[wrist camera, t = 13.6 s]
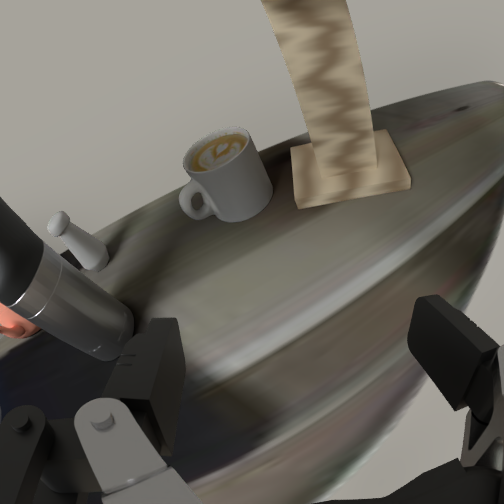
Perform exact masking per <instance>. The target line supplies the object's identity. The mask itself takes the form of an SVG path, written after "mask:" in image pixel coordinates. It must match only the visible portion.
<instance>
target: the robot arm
mask: <svg viewBox="0 0 504 504" xmlns="http://www.w3.org/2000/svg"><path fill="white" fill-rule="evenodd" d="M0 303H2V304H3V305H5V306H6V307H8V308H9V309H11V310H12V311H14V312H15V313H17V314H18V315H20V316H21V317H23V318H25V319H26V320H28V321H30V322H31V323H33V324H35V325H36V326H38V327H40V328H41V329H43V330H45V331H47V332H48V333H50V334H52V335H54V336H55V337H57V338H59V339H61V340H63V341H64V342H66V343H68V344H70V345H72V346H74V347H76V348H78V349H80V350H81V351H83V352H85V353H87V354H90V355H92V356H94V357H96V358H98V359H100V360H102V361H111V360H114V359H116V358H117V357H119V356H120V355H121V356H120V357H119V359H118V361H117V365H116V366H115V368H114V370H113V372H112V374H111V376H110V379H109V381H108V383H107V385H106V387H105V390H104V392H103V394H102V396H101V398H99V399H95V400H92V401H90V402H88V403H86V404H85V405H83V406H82V407H81V408H80V409H79V410H78V412H77V414H76V416H75V418H67V419H56V420H47V418H46V417H45V415H44V414H43V412H42V411H41V410H40V409H39V408H37V407H35V406H31V405H24V406H19V407H17V408H15V409H13V410H11V411H10V412H9V413H8V414H7V415H6V416H5V417H4V419H3V421H2V422H1V424H0V504H86V502H87V498H88V493H89V492H98V491H103V494H101V498H102V501H103V503H104V504H203V503H202V501H201V500H200V499H199V498H198V497H197V496H196V495H195V494H194V492H193V491H192V490H191V489H190V488H189V487H188V485H187V484H186V483H185V482H184V481H183V479H182V478H181V477H180V476H179V475H178V473H177V472H176V471H175V470H174V469H173V468H172V467H171V466H170V465H169V466H167V464H166V463H165V462H164V461H163V459H162V458H161V457H160V456H172V453H173V447H174V440H175V434H176V427H177V421H178V415H179V409H180V403H181V397H182V391H183V385H184V380H185V371H186V367H185V357H184V352H183V347H182V342H181V337H180V331H179V326H178V322H177V319H176V318H152V319H151V321H150V323H149V326H148V328H147V330H146V333H145V334H136V335H135V336H134V337H133V338H132V335H133V332H134V318H133V314H132V312H131V310H130V309H129V308H128V307H127V306H125V305H124V304H122V303H121V302H119V301H118V300H117V299H115V298H114V297H113V296H111V295H110V294H109V293H107V292H106V291H105V290H103V289H102V288H101V287H99V286H98V285H97V284H95V283H94V282H93V281H91V280H90V279H89V278H88V277H86V276H85V275H84V274H82V273H81V272H80V271H79V270H77V269H76V268H75V267H74V266H72V265H71V264H70V263H69V262H67V261H66V260H65V259H64V258H63V257H61V256H60V255H59V254H58V253H56V252H55V251H54V250H53V249H52V248H51V247H49V246H48V245H47V244H46V243H45V242H44V241H43V240H41V239H40V238H39V237H38V236H37V235H36V234H35V233H34V232H33V231H32V230H31V229H30V228H29V227H28V226H27V225H26V223H25V222H24V221H23V220H22V219H21V218H20V217H19V216H18V215H17V214H16V213H15V212H14V211H13V210H12V209H11V208H10V207H9V206H8V205H7V204H6V203H5V202H4V201H3V199H2V198H1V197H0ZM407 341H408V347H409V350H410V352H411V353H412V354H413V356H414V357H415V358H416V359H417V361H418V362H419V363H420V365H421V366H422V367H423V369H424V370H425V371H426V373H427V374H428V375H429V377H430V378H431V379H432V381H433V382H434V383H435V385H436V386H437V387H438V389H439V390H440V392H441V393H442V394H443V396H444V397H445V398H446V400H447V401H448V403H449V404H450V405H451V407H452V408H453V410H454V411H457V410H460V409H462V408H464V407H467V406H469V408H470V410H469V411H468V413H467V416H466V422H465V432H464V440H463V448H462V454H461V459H460V461H459V459H458V458H456V459H454V460H452V461H450V462H447V463H446V464H443V465H441V466H438V467H436V468H434V469H431V470H429V471H427V472H424V473H422V474H421V475H419V476H418V477H416V478H415V479H414V480H412V481H410V482H409V483H408V484H406V485H404V486H403V487H401V488H400V489H398V490H396V491H395V492H393V493H391V494H390V495H388V496H386V497H383V498H373V499H358V500H330V501H324V502H319V503H313V504H504V345H502V346H499V345H498V344H497V343H496V342H495V341H494V340H493V339H492V338H490V336H488V335H487V334H486V333H485V332H484V331H483V330H482V329H481V328H479V327H477V325H476V324H475V323H474V322H473V321H470V319H469V318H468V317H467V316H466V315H465V314H463V313H462V312H461V311H459V310H457V309H455V308H454V307H452V306H451V305H450V304H449V303H448V302H446V301H445V300H444V299H443V298H442V297H440V296H439V295H429V296H423V297H419V298H418V299H417V300H416V302H415V305H414V310H413V315H412V319H411V323H410V328H409V332H408V337H407ZM39 480H40V481H39ZM38 483H39V484H38Z"/></svg>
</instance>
